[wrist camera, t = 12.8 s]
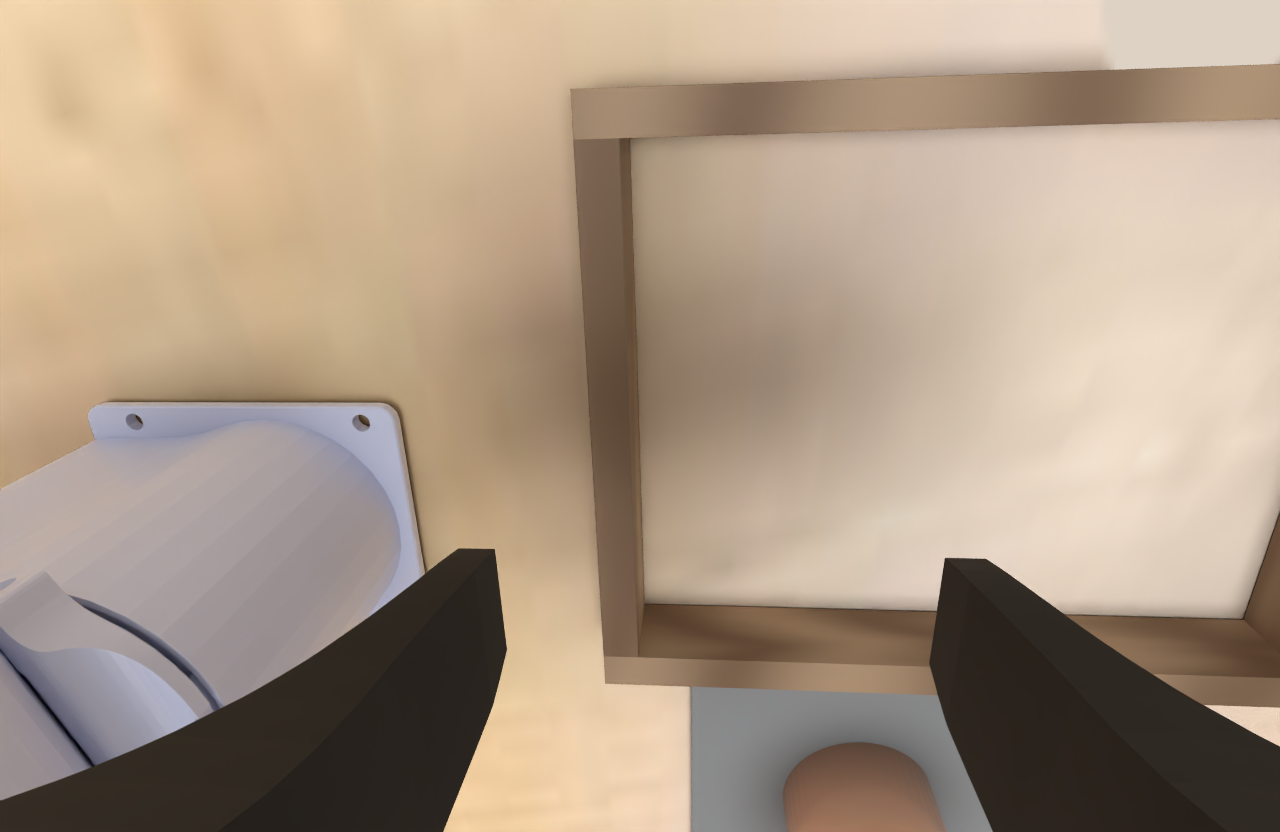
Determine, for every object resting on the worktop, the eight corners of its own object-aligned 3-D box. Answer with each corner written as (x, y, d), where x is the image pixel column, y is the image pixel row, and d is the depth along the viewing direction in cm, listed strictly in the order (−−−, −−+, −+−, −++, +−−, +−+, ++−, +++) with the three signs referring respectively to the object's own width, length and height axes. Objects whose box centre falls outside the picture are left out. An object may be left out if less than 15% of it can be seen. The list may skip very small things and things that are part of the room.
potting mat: (692, 893, 28) (691, 906, 28) (691, 667, 24) (691, 678, 23) (985, 910, 27) (990, 924, 27) (1037, 679, 23) (1044, 690, 23)
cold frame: (614, 628, 24) (605, 683, 21) (587, 93, 18) (570, 89, 15) (1269, 647, 22) (1336, 709, 20) (1484, 62, 16) (1617, 52, 14)
